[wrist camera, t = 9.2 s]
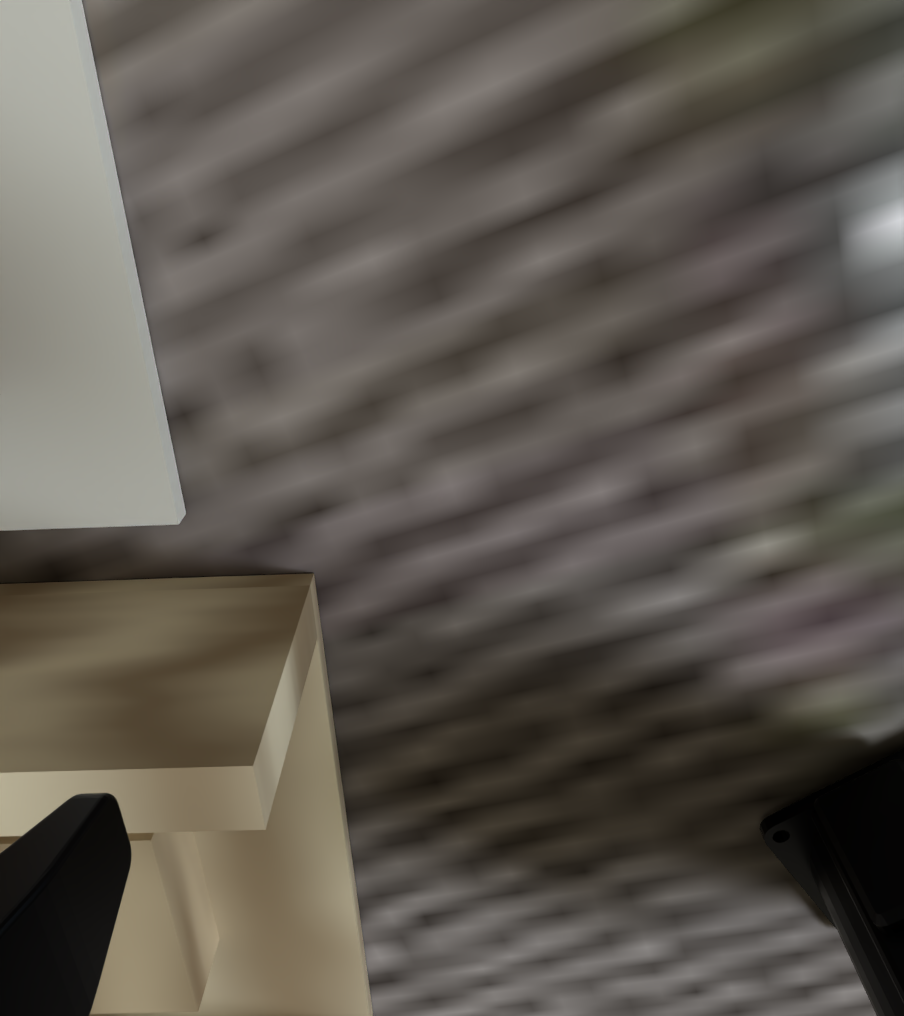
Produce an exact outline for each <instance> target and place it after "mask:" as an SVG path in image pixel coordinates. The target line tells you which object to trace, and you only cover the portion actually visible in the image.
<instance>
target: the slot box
mask: <svg viewBox="0 0 904 1016" xmlns="http://www.w3.org/2000/svg"><path fill="white" fill-rule="evenodd" d="M85 793H109V794H112V795H113V796H114V797H115V798H116V799H117V801H118V804H119V807H120V810H121V814H122V817H123V820H124V824H125V827H126V831H127V834H128V837H129V841H130V845H131V852H132V857H131V866H130V871H129V874H128V878H127V882H126V886H125V889H124V893H123V897H122V900H121V904H120V908H119V912H118V915H117V919H116V923H115V927H114V930H113V934H112V938H111V941H110V945H109V949H108V953H107V956H106V960H105V964H104V967H103V971H102V975H101V979H100V982H99V986H98V989H97V993H96V996H95V999H94V1003H93V1006H92V1009H91V1012H90V1015H89V1016H373V1011H372V1003H371V996H370V988H369V981H368V973H367V966H366V958H365V951H364V944H363V936H362V929H361V921H360V914H359V906H358V899H357V891H356V884H355V876H354V869H353V861H352V854H351V846H350V839H349V831H348V824H347V817H346V809H345V802H344V794H343V787H342V779H341V772H340V764H339V757H338V749H337V742H336V734H335V727H334V719H333V712H332V704H331V697H330V689H329V682H328V675H327V667H326V660H325V652H324V645H323V637H322V630H321V622H320V615H319V607H318V600H317V592H316V585H315V577H314V573H312V574H283V575H253V576H223V577H194V578H164V579H135V580H105V581H75V582H46V583H16V584H0V853H1V852H2V851H4V850H5V849H6V848H7V847H9V846H10V845H11V844H12V843H14V842H15V841H16V840H17V839H19V838H20V837H21V836H23V835H24V834H25V833H26V832H28V831H29V830H30V829H31V828H33V827H34V826H35V825H36V824H38V823H39V822H40V821H41V820H43V819H44V818H45V817H47V816H48V815H49V814H50V813H52V812H53V811H54V810H55V809H57V808H58V807H59V806H60V805H62V804H63V803H64V802H66V801H67V800H68V799H70V798H71V797H73V796H75V795H77V794H85Z"/></svg>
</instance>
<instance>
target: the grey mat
mask: <svg viewBox="0 0 904 1016" xmlns="http://www.w3.org/2000/svg"><path fill="white" fill-rule="evenodd" d="M185 515H186V510H185V505H184V501H183V496H182V491H181V486H180V481H179V476H178V471H177V466H176V461H175V456H174V451H173V446H172V442H171V437H170V432H169V427H168V422H167V417H166V412H165V407H164V402H163V397H162V392H161V388H160V383H159V378H158V373H157V368H156V363H155V358H154V353H153V348H152V343H151V338H150V334H149V329H148V324H147V319H146V314H145V309H144V304H143V299H142V294H141V289H140V284H139V279H138V275H137V270H136V265H135V260H134V255H133V250H132V245H131V240H130V235H129V230H128V225H127V221H126V216H125V211H124V206H123V201H122V196H121V191H120V186H119V181H118V176H117V171H116V166H115V162H114V157H113V152H112V147H111V142H110V137H109V132H108V127H107V122H106V117H105V112H104V108H103V103H102V98H101V93H100V88H99V83H98V78H97V73H96V68H95V63H94V58H93V53H92V49H91V44H90V39H89V34H88V29H87V24H86V19H85V14H84V9H83V4H82V0H0V531H7V530H35V529H63V528H92V527H120V526H148V525H176V524H179V523H180V522H181V520H182V519H183V518H184V516H185Z"/></svg>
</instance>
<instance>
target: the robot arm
mask: <svg viewBox="0 0 904 1016" xmlns="http://www.w3.org/2000/svg"><path fill="white" fill-rule="evenodd" d="M780 830H781V831H780ZM760 831H761V833H762V836H763V838H764V840H765V842H766V844H767V846H768V847H769V848H770V849H771V850H772V852H773V853H774V854H775V855H776V856H777V858H778V859H779V860H780V861H781V862H782V864H783V865H784V866H785V867H786V868H787V870H788V871H789V872H790V873H791V874H792V876H793V877H794V878H795V879H796V881H797V882H798V883H799V884H800V885H801V887H802V888H803V889H804V890H805V891H806V893H807V894H808V895H809V896H810V897H811V899H812V900H813V901H814V902H815V903H816V905H817V906H818V907H819V908H820V909H821V911H822V912H823V913H824V914H825V916H826V917H827V918H828V919H829V920H830V922H831V923H832V924H833V925H834V926H835V928H836V929H837V930H838V932H839V935H840V937H841V939H842V941H843V943H844V945H845V948H846V950H847V952H848V954H849V956H850V958H851V961H852V963H853V965H854V967H855V969H856V972H857V974H858V976H859V978H860V980H861V982H862V985H863V987H864V989H865V991H866V993H867V995H868V998H869V1000H870V1002H871V1004H872V1006H873V1008H874V1011H875V1013H876V1015H877V1016H904V749H903V750H901V751H899V752H897V753H895V754H893V755H891V756H889V757H887V758H885V759H883V760H881V761H879V762H877V763H875V764H873V765H871V766H869V767H867V768H865V769H863V770H861V771H859V772H857V773H855V774H853V775H851V776H849V777H846V778H844V779H842V780H840V781H838V782H836V783H834V784H832V785H830V786H828V787H826V788H824V789H822V790H820V791H818V792H816V793H814V794H812V795H810V796H808V797H806V798H804V799H802V800H800V801H798V802H796V803H794V804H792V805H790V806H788V807H786V808H784V809H782V810H780V811H778V812H776V813H774V814H772V815H770V816H768V817H767V818H765V819H764V820H763V821H762V823H761V824H760ZM777 831H779V832H777ZM131 857H132V852H131V845H130V841H129V837H128V834H127V831H126V827H125V824H124V820H123V817H122V814H121V810H120V807H119V804H118V801H117V799H116V798H115V797H114V796H113V795H112V794H109V793H85V794H77V795H75V796H73V797H71V798H70V799H68V800H67V801H66V802H64V803H63V804H62V805H60V806H59V807H58V808H57V809H55V810H54V811H53V812H52V813H50V814H49V815H48V816H47V817H45V818H44V819H43V820H41V821H40V822H39V823H38V824H36V825H35V826H34V827H33V828H31V829H30V830H29V831H28V832H26V833H25V834H24V835H23V836H21V837H20V838H19V839H17V840H16V841H15V842H14V843H12V844H11V845H10V846H9V847H7V848H6V849H5V850H4V851H2V852H1V853H0V1016H89V1015H90V1012H91V1009H92V1006H93V1003H94V999H95V996H96V993H97V989H98V986H99V982H100V979H101V975H102V971H103V967H104V964H105V960H106V956H107V953H108V949H109V945H110V941H111V938H112V934H113V930H114V927H115V923H116V919H117V915H118V912H119V908H120V904H121V900H122V897H123V893H124V889H125V886H126V882H127V878H128V874H129V871H130V866H131Z"/></svg>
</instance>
